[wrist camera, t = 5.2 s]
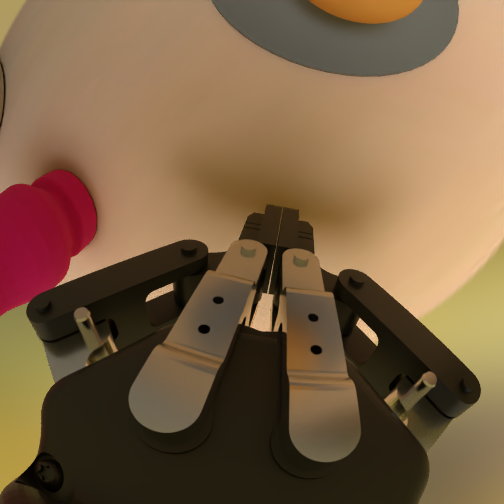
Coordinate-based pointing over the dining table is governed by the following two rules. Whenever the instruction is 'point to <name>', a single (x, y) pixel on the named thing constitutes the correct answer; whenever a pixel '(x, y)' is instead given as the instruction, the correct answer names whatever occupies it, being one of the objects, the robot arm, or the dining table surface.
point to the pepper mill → (41, 234)
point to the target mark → (344, 35)
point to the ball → (368, 9)
